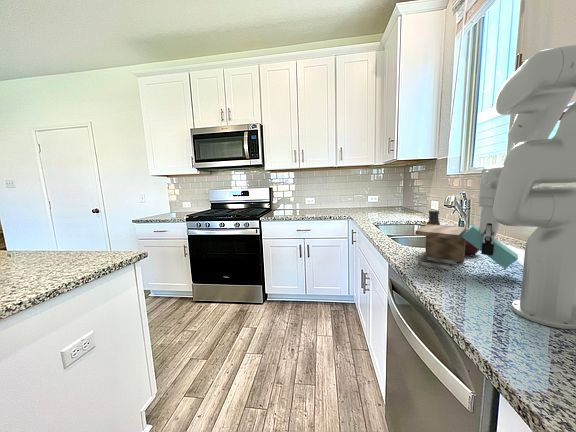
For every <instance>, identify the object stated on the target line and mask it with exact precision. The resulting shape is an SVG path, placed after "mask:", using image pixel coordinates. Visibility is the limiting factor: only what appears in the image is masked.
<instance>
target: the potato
mask: <svg viewBox="0 0 576 432" xmlns="http://www.w3.org/2000/svg"><path fill="white" fill-rule="evenodd" d="M479 251H480V250H479V249H478V248H476V247H475V246H474V245H472V244H471V243H469V242H468V241H467V240H465V255H464V256H472V255H476V254H477V253H478V252H479Z"/></svg>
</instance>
